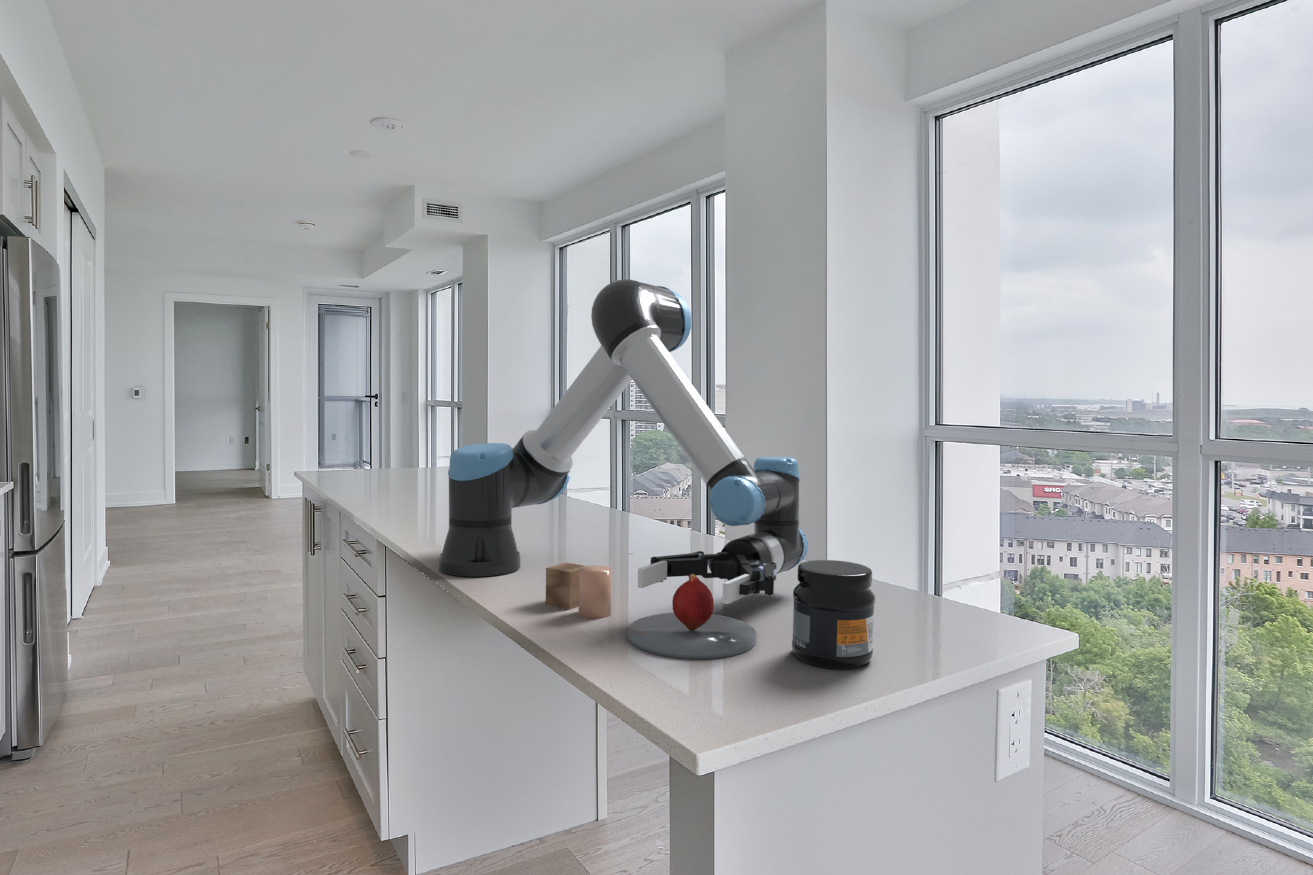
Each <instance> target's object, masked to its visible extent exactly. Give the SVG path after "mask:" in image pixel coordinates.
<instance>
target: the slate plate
mask: <svg viewBox="0 0 1313 875" xmlns="http://www.w3.org/2000/svg"><path fill="white" fill-rule="evenodd" d="M627 639H628V641H629V643H630V644H631V645H633V646H634V647H636V648H637V649H639V650H642V651H644V652H647V653H650V654H653V655H655V656H656V655H657V656H662V657H667V658H673V659H674V658H676V659H681V660H683V659H685V660H712V659H715V660H716V659H723V658H724V659H725V658H729V657H730V658H731V657H734V656H739V655H741V654H744V653H746V652H748V651H750V650H751V649H753V648H754V647H755V646H756V644H757V630H755V628H754V627H753V626H752V625H750V624H748V623H747V622H744V621H743V620H739V619H737V618H733V617H729V616H725V615H721V614H720V615H719V614H715V613H714V614H713V613H712V615H711V617H710V619H709V620H708V621H707V622H706V623H705V624H703V625H702V626H700V627H699V628H697V629H696V630H694V631H693V630H692V631H691V630H689V629H687V627H686V626H685V625H684V624H683V623H682V622H680V621H679V620H678V618H677V617H676V616H675V614H674V612H666V613H659V614H652V615H647V616H645V617H641V618H639V619H637V620H635V621H633V622H632V623H630V624H629V625H628V628H627Z"/></svg>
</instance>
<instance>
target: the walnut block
mask: <svg viewBox="0 0 1313 875" xmlns="http://www.w3.org/2000/svg"><path fill="white" fill-rule="evenodd" d="M584 566H585V565H583V564H577V563H574V562H573V563H572V562H562V563H559V564H555V565H550V566H547V567H545V605H547V606H551V607H556V608H560V609H565V610H568V611H570V610H573V609H576V608H578V601H579V568H581V567H584Z"/></svg>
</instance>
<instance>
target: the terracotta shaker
mask: <svg viewBox="0 0 1313 875" xmlns="http://www.w3.org/2000/svg"><path fill="white" fill-rule="evenodd" d="M612 576H613V574H612V568H611V567H609V566H606V565H584V567H581V568H579V601H578V607H577V608H578V609H577V610H578V612H577V614H578V616H579V617H582V618H585V619H593V620H594V619H596V620H597V619H599V620H600V619H605V618H608V617H610V616H611V615H612Z"/></svg>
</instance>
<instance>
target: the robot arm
mask: <svg viewBox="0 0 1313 875" xmlns="http://www.w3.org/2000/svg"><path fill="white" fill-rule="evenodd" d="M590 313H591V319H590V320H591V325H592V328H593V332H594V334H595V336H596V338H597V340H598V342H599V343H600V346H599V348H598V349H597V350H596V352H594V354H593V356H592V357H591V358H590V360H589V361H588V362H587V364H586V365H585V366H584V367H583V369H582V370H581V371H580V373H579V374H578V375H577V377H576V378H575V379H574V380H573V382H572V383H571V385H570V386H569V387H568V388H567V390H566V391H565V393H564V394H563V395H562V396H561V398H560V399H559V401H558V402H557V403H556V404H555V406H554V407H553V408H552V410H551V411H550V412H549V413H548V415H547V416H546V418H545V419H544V420H543V421H542V423H541V424H540V425H539V427H538V428H537V429H529V430H527V431H526V432H524V434H523V435H522V436H521V437H520V439H519V440H518V442H517V443H516V444H515V446H513V447H512V446H511V445H510V444H507V443H503V442H487V443H485V442H484V443H481V444H479V443H476V444H468V445H465V446H461V447H459V448H457V449H455V450H453V452H452V453H451V454H450V456H449V457H450V458H449V467H448V470H447V475H448V531H447V534H446V537H445V540H444V544H443V548H442V552H441V553H440V555H439V557H438V558H439V559H438V571H440V572H441V573H444V574H447V575H452V576H457V577H458V576H459V577H491V576H500V575H506V574H510V573H513V572H516V571H518V570H519V569H520V568H521V554H520V551H518V547H517V541H516V539H515V535H514V532H513V528H512V526H513V525H512V524H513V523H512V514H513V513H512V512H513V511H512V510H513V509H514V508H515V509H516V508H521V507H526V506H533V505H542V504H546V503H548V502H550V501H552V500H555V499H557V498H558V497H560V496H561V495H562V493H564V491H565V489H566V488H567V486H568V484H569V482H570V476H569V474H570V473H571V469H572V467H573V459H572V456H573V455H574V453H575V452H576V451H577V449H578V448H579V447H580V445H581V444H583V442H584V441H585V440H586V438H587V437H588V435H589V434H590V433H592V431H593V429H594V428H595V427H596V425H597V424H598V423H599V422H600V421H601V420H602V418H603V417H604V416H605V414H607V412H608V411H609V410H610V408H611V407H612V406H613V404H614V403H615V402H616V401H617V399H618V398H619V397H620V396H621V394H622V393H623V392H624V391H625V389H626V388H627V387H628V385H629V384H630V383H631V382H632V381H633V382H634V384H635V385H636V386H637V388H638V390H639V391H640V392H641V394H642V395H643V397H644V398H645V400H646V401H647V402H648V404H649V405H650V407H651V409H653V411H654V412H655V413H656V415H657V417H658V418H659V419H660V421H661V422H662V424H663V425H664V427H665V429H667V431H668V432H669V434H670V436H672V439H674V442H676V444H677V445H678V447H679V448H680V450H681V451H682V452H683V454H684V455H685V457H686V458H687V460H688V461H689V462H690V464H691V465H692V466H693V468H694V470H695V471H696V473H697V474H698V475H699V476H700V478H701V480H703V483H704V484H705V485H706V487H707V488H708V490H709V492H710V493H709V498H708V500H709V505H710V511H711V513H712V514H713V516H714V517H715V518H716V519H717V520H718V521H719V522H720V523H721V524H723V525H727V526H729V527H730V526H731V527H737V526H739V527H740V526H748V525H751V524H753V523H754V525H753V527H754V532H753V533H749V534H746V535H745V536H742V537H738V538H735V539H732V540H730V541H729V542H727V543H726V544H725V545H724V547H723V548H722V549H721V551H718V552H716V553H710V554H708V553H706V554H705V552H704V551H702V550H698V551H694V552H690V553H679V554H671V555H670V554H669V555H661V556H651V557H650V564H649V565H644V566H642V567H639V568H637V588H640V589H644V588H646V587H649V586H652V585H655V584H657V583H664V581H666V580H668V578H675V577H676V578H677V577H688V576H689V575H691V574H694V575H696V576H701V577H702V578H703V579H717V578H718V579H719V580H727V581H725V582H723V583H722V600H721V601H722V604H724V605H729V604H731V603H734V602H736V601H738V600H740V599H742V598H744V597H746V596H750V595H759V594H760V593H761V592H764V595H766V596H773V595H774V594H775V593H774V590H775V581H776V580H777V575H778V574H780V573H784V572H788V571H791V569H793V568H794V567H797V566H798V565H799V564H801V563H802V562H803V561H804V559H805V558H806V556H807V553H808V549H809V543H808V542H809V541H808V539H807V537H806V535H805V532H804V531H803V530H802V529H801V528H800V520H799V519H800V518H799V517H800V514H799V513H800V512H799V511H800V509H799V508H800V482H801V478H800V472H799V462H798V461H797V459H796V458H794V457H791V456H790V457H789V456H762V457H757V458H756V459H755V461H754V464H753V466H752V465H751V464H750V463H749V461H748V460H747V458H746V457H745V456H744V454H743V452H741V450H740V449H739V447H738V446H737V444H736V443H735V441H734V440H733V439H732V438H731V436H730V435H729V433H728V432H727V430H726V429H725V428H724V426H723V425H722V424H721V422H720V421H719V419H718V418H717V417H716V415H715V414H714V412H713V411H712V410H711V409H710V407H709V406H708V404H707V403H706V400H704V399H703V397H702V396H701V394H700V393H699V392H698V390H697V389H696V388H695V386H694V385H693V384H692V382H691V380H690V379H689V377H688V376H687V375H686V373H685V372H684V371H683V369H682V368H681V367H680V366H679V364H678V362H677V361H676V360H675V358H674V356H673V355H672V354H671V352H674V351H676V350H678V349H679V348H681V347H682V346H683V345H684V343H686V341H687V340H688V337H689V336H690V333H691V330H692V313H691V310H690V307H689V305H688V303H687V301H686V299H684V297H683V296H682V295H681V294H680V293H678V292H677V291H674V290H672V289H670V288H668V287H666V286H661V285H653V284H649V283H645V282H641V281H638V280H636V279H635V280H634V279H628V278H627V279H618V280H615V281H613V282H610V283H609V284H606V286H603V288H602V289H601V290H600V291H599V292H598V293H597V295H596V297H595V298H594V300H593V302H592V307H591V312H590ZM708 568H709V571H710V572H708Z"/></svg>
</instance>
